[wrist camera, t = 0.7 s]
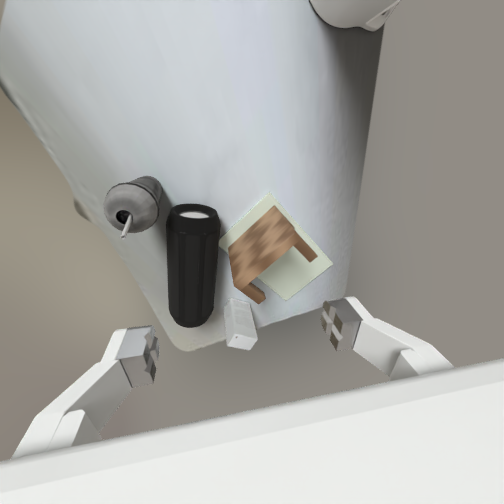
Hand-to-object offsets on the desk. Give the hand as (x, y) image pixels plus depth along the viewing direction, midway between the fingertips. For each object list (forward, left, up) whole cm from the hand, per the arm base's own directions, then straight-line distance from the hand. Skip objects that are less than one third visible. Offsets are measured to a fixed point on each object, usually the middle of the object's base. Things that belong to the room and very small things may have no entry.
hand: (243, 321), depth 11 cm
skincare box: (+21, +27, -39) cm, 52 cm away
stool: (+3, +16, -38) cm, 42 cm away
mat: (+3, +23, -39) cm, 45 cm away
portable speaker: (+17, +9, -39) cm, 44 cm away
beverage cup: (+11, -7, -39) cm, 41 cm away
